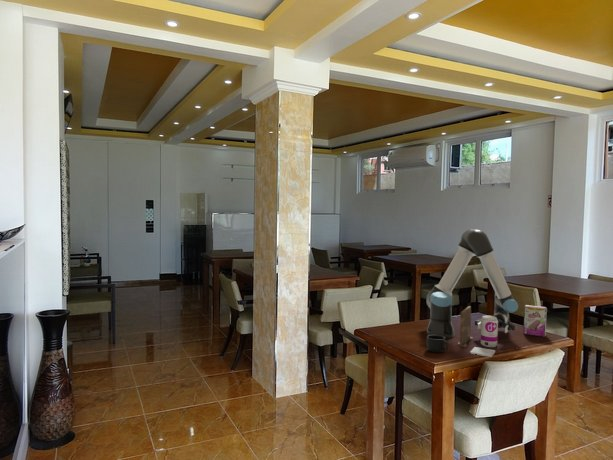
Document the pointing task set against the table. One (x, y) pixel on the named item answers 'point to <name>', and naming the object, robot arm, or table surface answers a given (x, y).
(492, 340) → the supplement can
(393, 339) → the table surface
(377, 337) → the table surface
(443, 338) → the mug
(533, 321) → the candy bar box
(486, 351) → the tile
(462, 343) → the screen
